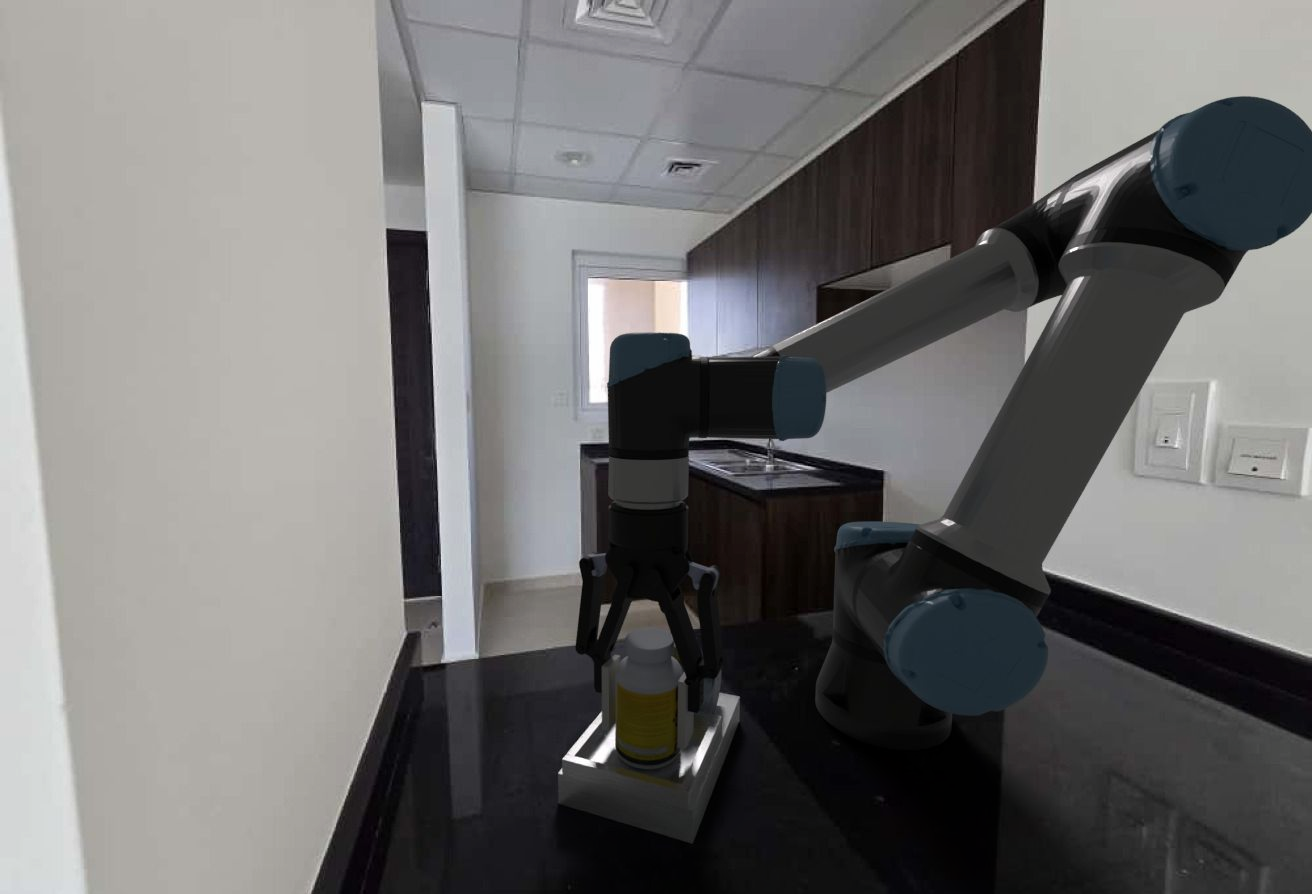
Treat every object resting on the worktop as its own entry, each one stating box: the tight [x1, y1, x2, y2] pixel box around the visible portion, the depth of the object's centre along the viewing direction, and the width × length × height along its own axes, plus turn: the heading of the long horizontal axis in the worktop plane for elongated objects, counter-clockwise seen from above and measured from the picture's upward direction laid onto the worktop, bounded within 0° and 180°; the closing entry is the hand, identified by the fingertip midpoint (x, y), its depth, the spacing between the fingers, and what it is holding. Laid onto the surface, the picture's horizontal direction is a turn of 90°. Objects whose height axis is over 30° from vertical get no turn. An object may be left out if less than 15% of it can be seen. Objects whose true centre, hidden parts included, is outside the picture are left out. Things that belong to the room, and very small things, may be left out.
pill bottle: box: [615, 627, 682, 769], centre depth 54 cm, size 6×6×12 cm
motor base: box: [557, 643, 741, 844], centre depth 58 cm, size 19×13×10 cm
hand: (647, 730), depth 55 cm, fingers open, 7 cm apart
